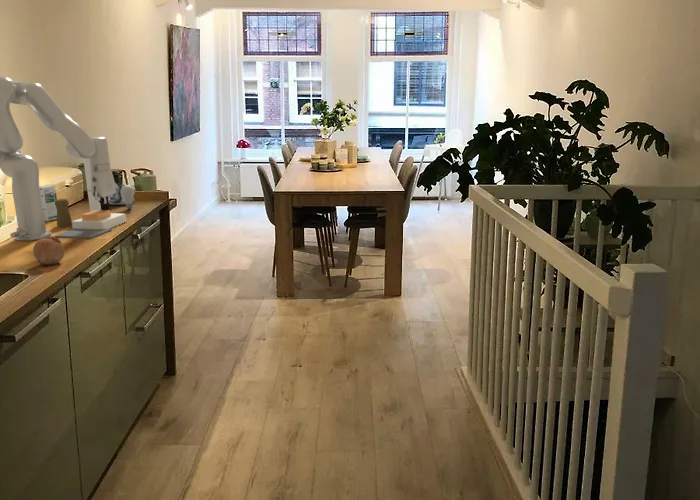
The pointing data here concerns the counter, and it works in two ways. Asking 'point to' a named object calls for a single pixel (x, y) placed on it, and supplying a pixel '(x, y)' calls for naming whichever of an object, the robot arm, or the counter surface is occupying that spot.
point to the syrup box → (48, 202)
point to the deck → (100, 222)
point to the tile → (96, 215)
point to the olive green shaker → (63, 213)
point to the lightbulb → (128, 195)
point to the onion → (48, 250)
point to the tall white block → (92, 202)
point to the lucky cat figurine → (117, 197)
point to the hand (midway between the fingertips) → (106, 212)
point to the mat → (83, 233)
